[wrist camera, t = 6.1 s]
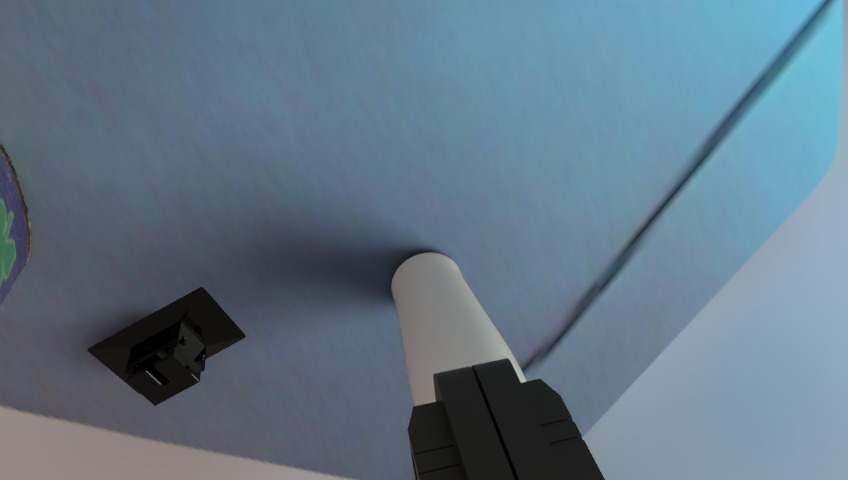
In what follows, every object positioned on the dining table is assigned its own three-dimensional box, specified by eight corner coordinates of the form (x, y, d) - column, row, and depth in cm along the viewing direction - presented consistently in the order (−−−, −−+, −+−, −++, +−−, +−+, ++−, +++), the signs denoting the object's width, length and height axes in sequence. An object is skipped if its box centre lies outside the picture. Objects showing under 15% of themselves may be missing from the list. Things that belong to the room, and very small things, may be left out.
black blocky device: (214, 263, 44) (211, 303, 40) (273, 330, 48) (275, 372, 45) (62, 347, 45) (45, 394, 41) (133, 406, 49) (123, 453, 45)
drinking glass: (361, 282, 47) (399, 440, 35) (430, 223, 46) (496, 365, 33) (419, 329, 51) (473, 487, 38) (485, 275, 49) (563, 421, 37)
